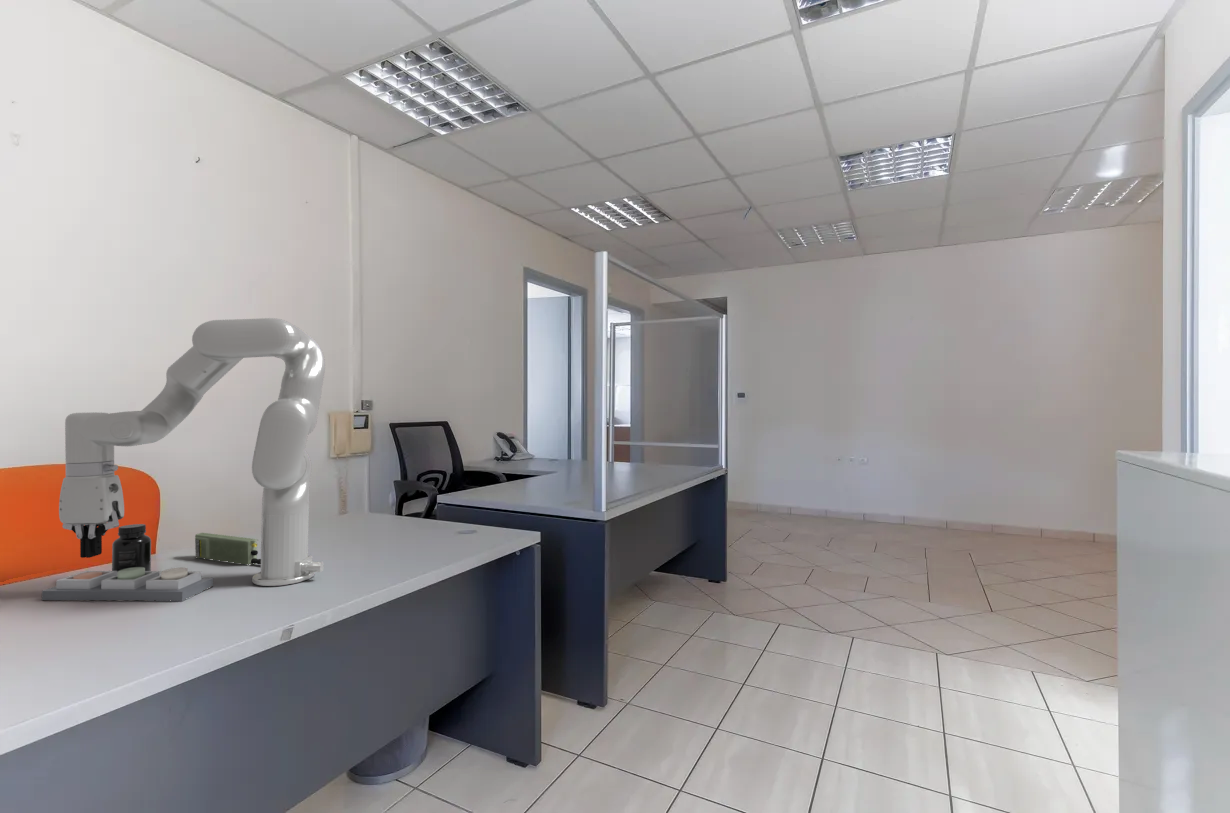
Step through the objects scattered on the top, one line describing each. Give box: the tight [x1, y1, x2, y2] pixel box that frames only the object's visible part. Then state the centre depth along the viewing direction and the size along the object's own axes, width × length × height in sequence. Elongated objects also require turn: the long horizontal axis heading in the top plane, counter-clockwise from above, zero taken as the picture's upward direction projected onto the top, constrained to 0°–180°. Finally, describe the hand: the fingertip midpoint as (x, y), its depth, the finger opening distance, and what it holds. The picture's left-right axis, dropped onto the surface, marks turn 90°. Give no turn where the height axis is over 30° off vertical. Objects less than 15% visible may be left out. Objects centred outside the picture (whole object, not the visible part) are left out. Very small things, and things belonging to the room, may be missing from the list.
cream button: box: [160, 567, 189, 580], centre depth 117 cm, size 4×4×2 cm
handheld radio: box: [194, 532, 261, 565], centre depth 141 cm, size 7×3×25 cm
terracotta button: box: [73, 570, 102, 579], centre depth 116 cm, size 4×4×2 cm
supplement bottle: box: [111, 523, 152, 574], centre depth 127 cm, size 7×7×12 cm
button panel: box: [41, 570, 214, 602], centre depth 116 cm, size 28×9×4 cm, turn 92°
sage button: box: [117, 567, 145, 580], centre depth 116 cm, size 4×4×2 cm
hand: (91, 555), depth 116 cm, fingers closed
